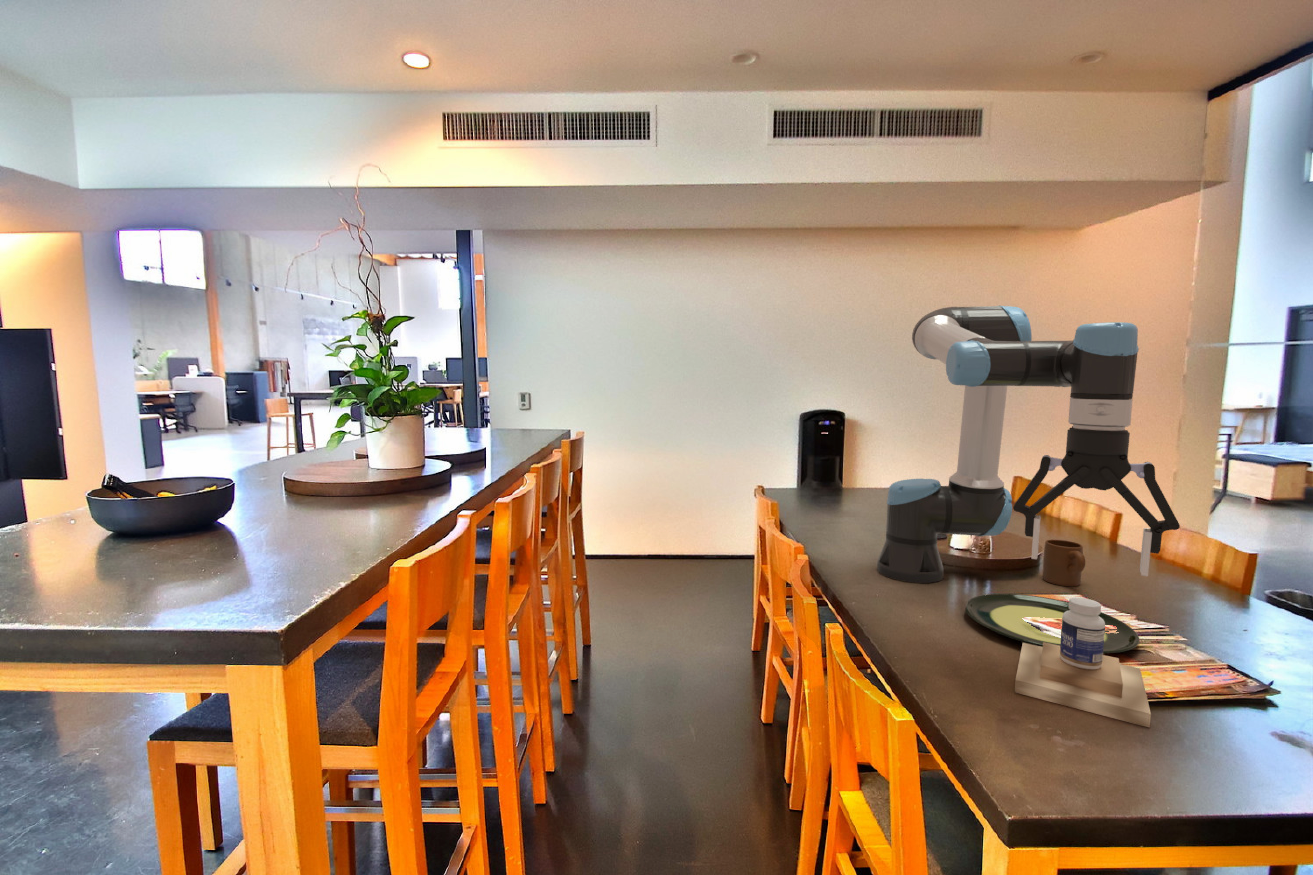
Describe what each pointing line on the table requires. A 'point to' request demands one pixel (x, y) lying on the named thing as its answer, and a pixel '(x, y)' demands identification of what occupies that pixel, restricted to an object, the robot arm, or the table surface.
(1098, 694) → the base
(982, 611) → the plate
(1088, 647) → the pill bottle
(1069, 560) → the mug
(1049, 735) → the table surface
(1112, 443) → the robot arm
